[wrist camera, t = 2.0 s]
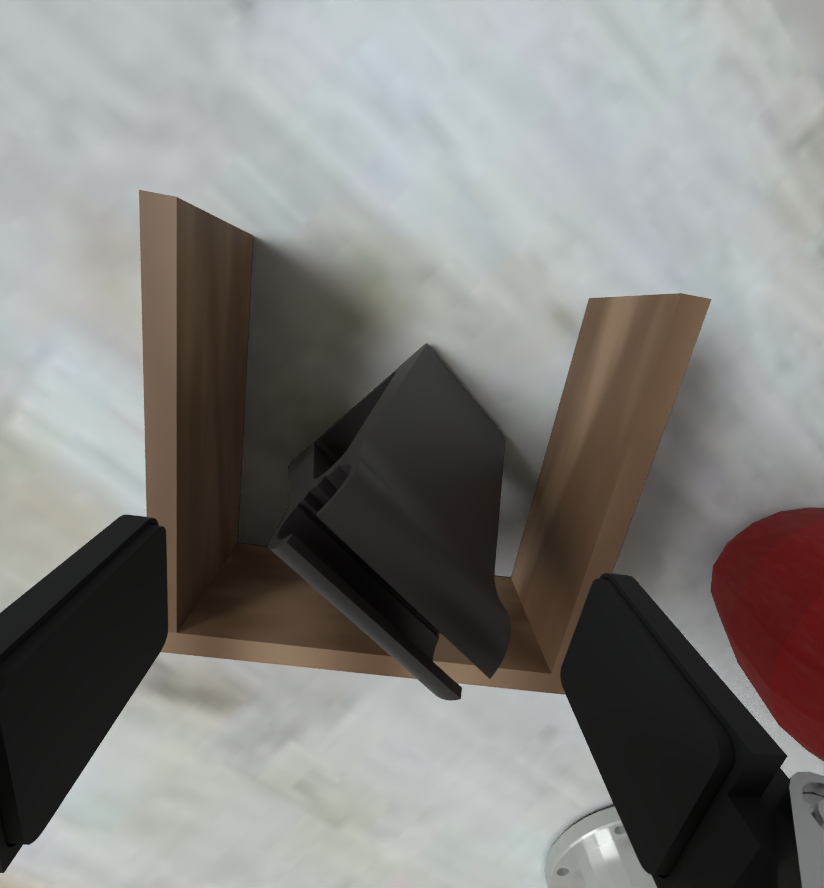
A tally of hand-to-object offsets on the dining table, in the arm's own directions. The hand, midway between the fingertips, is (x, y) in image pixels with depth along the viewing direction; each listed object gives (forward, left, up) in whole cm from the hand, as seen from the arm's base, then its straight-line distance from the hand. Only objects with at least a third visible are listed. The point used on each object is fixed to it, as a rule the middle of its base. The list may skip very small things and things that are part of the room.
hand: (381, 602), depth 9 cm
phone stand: (0, +1, -12) cm, 12 cm away
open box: (0, 0, -12) cm, 12 cm away
